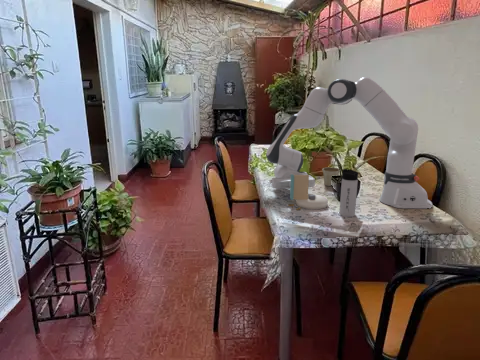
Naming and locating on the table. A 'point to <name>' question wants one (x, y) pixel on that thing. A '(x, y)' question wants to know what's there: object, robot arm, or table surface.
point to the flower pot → (329, 174)
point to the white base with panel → (305, 193)
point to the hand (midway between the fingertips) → (297, 187)
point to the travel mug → (348, 193)
